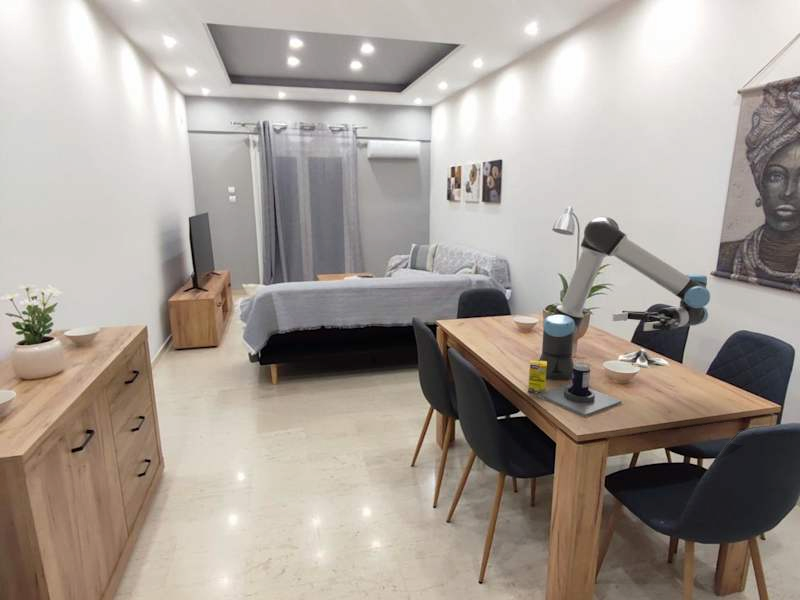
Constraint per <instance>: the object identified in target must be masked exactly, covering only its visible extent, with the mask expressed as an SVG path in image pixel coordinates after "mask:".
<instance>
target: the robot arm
mask: <svg viewBox="0 0 800 600" xmlns="http://www.w3.org/2000/svg"><path fill="white" fill-rule="evenodd" d="M580 247H581V250H582V251H581V254H580V256H579V259H578V261H577V264H576V266H575V270H574V271H573V274H572V277H571V280H570V282H569V284H568V287H567V289H566V292H565V295H564V296H563V299H562V302H561V304H558V305H556V307H555V309H554V312H553V314H552V315H548V316H546V317H545V318H544V320H543V321H544V322H543V325H542V326H543V330H542V331H543V332H542V333H543V334H542V345H541V346H542V348H541V355H540V358H539V359H538V361H547V370H546V379H549V378H550V380H557V381H568V380H572V373H573V367H574V364H575V363H574V360H573V346H574V340H575V338H576V335H577V334H578V333H579V332H580V326H581V325H582V322H583V319H584V317H585V315H584V312H583V309H584V307H585V304H586V301H587V299H588V297H589V295H590V292H591V290H592V287H593V286H594V283H595V280H596V278H597V275H598V273H599V270H600V268H601V266H602V263H603V261H604V258H606V257H616V258H617V259H618V260H620V261H621V262H623V263H625V264H626V265H627V266H629V267H631V268H632V269H633V270H636V271H637V272H639V273H640V274H641V275H643V276H644V277H647V278H649V279H650V280H651V281H653V282H654V283H655V284H657V285H659V286H660V287H662V288H664V289H665V290H667V291H668V292H670V293H672V294H673V295H675V296H676V297H678V298H679V299H680V301H679V306H671V307H663V308H660V309H659V310H657V311H656V312H654V311H653V312H649V311H647V310H644V311H642V310H641V311H639V310H622V312H617V313H613V314H612V322H620V321H628V320H633V321H635V320H636V321H644V323H643V331H644V332H647V331H657V330H661V331H664V330H665V331H667V332H670V331H672V330H673V329H678V328H679V327H686V326H687V327H689V326H698V325H700V324H703V323H705V322H706V321H707V320H708V317H709V313H708V309H707V308H706V307H705V306H707V305H708V304H709V302H710V300H711V292H710V291H709V289H708V288H707V285H708V276H706V275H703V274H698V273H686V274H684V273H682V272H681V271H679V270H678V269H676V268H674V267H673V266H671V265H670V264H668V263H666V261H663V260H662V259H660V258H658V257H657V256H655V255H654V254H652V253H651V252H649V251H647V250H646V249H644V248H643V247H641V246H640V245H638V244H636V243H635V242H633V241H632V240H631V239H629V238H628V235H627V234H626V233H624V232H622V231H621V230H620V227H619V224H618V223H617V221H615V220H614V219H613V218H611V217H608V216H599V217H596V218H593V219H592V220H590V221H589V222H588V223H587V224H586V226H585V227H584V232H583V239H582V240H581V243H580Z"/></svg>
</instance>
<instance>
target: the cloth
mask: <svg viewBox="0 0 800 600" xmlns="http://www.w3.org/2000/svg"><path fill="white" fill-rule="evenodd" d="M617 360H618V361H619V360H623V361H622V362H628V361H632V362H631V363H633V361H634V363H633V364H636V365H638V366H641V367H640V368H644V367H646V368H645V369H651V368H650V367H651V366H649V364H652V363H654V364H653V365H656V364H658V365H659V366H661V365H667V366H666V367H670V364H669V362H668V361H666V359H664V358H658V357H657V358H656V357H651V356H649V354H648V353H647V351H646V350H645V349H644V348H640V349H638V350H637V351H634V352H631V353H627V354H624V355H623V354H621V355H620V356H618V358H617ZM648 362H650V363H648ZM658 365H657V366H658ZM638 366H637V367H638Z"/></svg>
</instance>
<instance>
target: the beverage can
mask: <svg viewBox="0 0 800 600" xmlns="http://www.w3.org/2000/svg"><path fill="white" fill-rule="evenodd" d="M573 364H574V367H573V373H572V379H571V383H572V385H571V394H573V395H576V396H581V397H582V396H588V389H590V376H591V368H590V365H589V364H588V363H583V362H575V363H573Z"/></svg>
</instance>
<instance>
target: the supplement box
mask: <svg viewBox="0 0 800 600" xmlns="http://www.w3.org/2000/svg"><path fill="white" fill-rule="evenodd" d="M546 370H547V361H539V359H538V360H536V359H530V365H529V372H528V373H529V374H528V375H529V376H528V385H527V386H528V389H527V392H528V393H534V392H538V393H541V392H545V391H546V381H547V378H546ZM538 393H537V394H538Z"/></svg>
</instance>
